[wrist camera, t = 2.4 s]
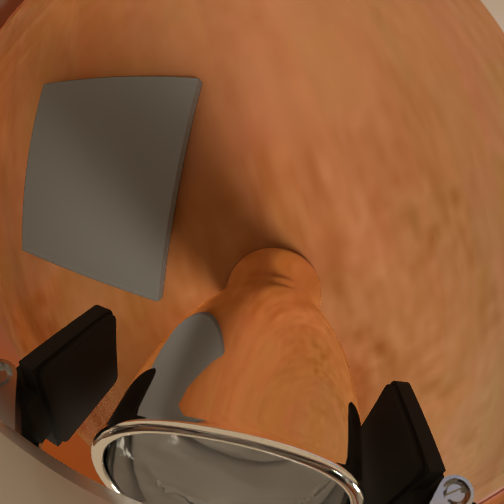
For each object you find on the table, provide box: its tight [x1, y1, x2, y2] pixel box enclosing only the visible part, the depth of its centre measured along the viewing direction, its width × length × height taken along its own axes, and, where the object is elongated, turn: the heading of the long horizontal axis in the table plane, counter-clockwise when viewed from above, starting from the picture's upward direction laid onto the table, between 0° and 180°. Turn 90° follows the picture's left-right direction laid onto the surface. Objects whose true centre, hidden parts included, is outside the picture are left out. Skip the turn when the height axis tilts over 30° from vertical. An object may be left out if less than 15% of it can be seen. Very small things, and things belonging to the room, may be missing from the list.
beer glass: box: [91, 248, 366, 504], centre depth 12 cm, size 7×7×15 cm
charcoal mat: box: [22, 76, 202, 302], centre depth 19 cm, size 15×15×1 cm
